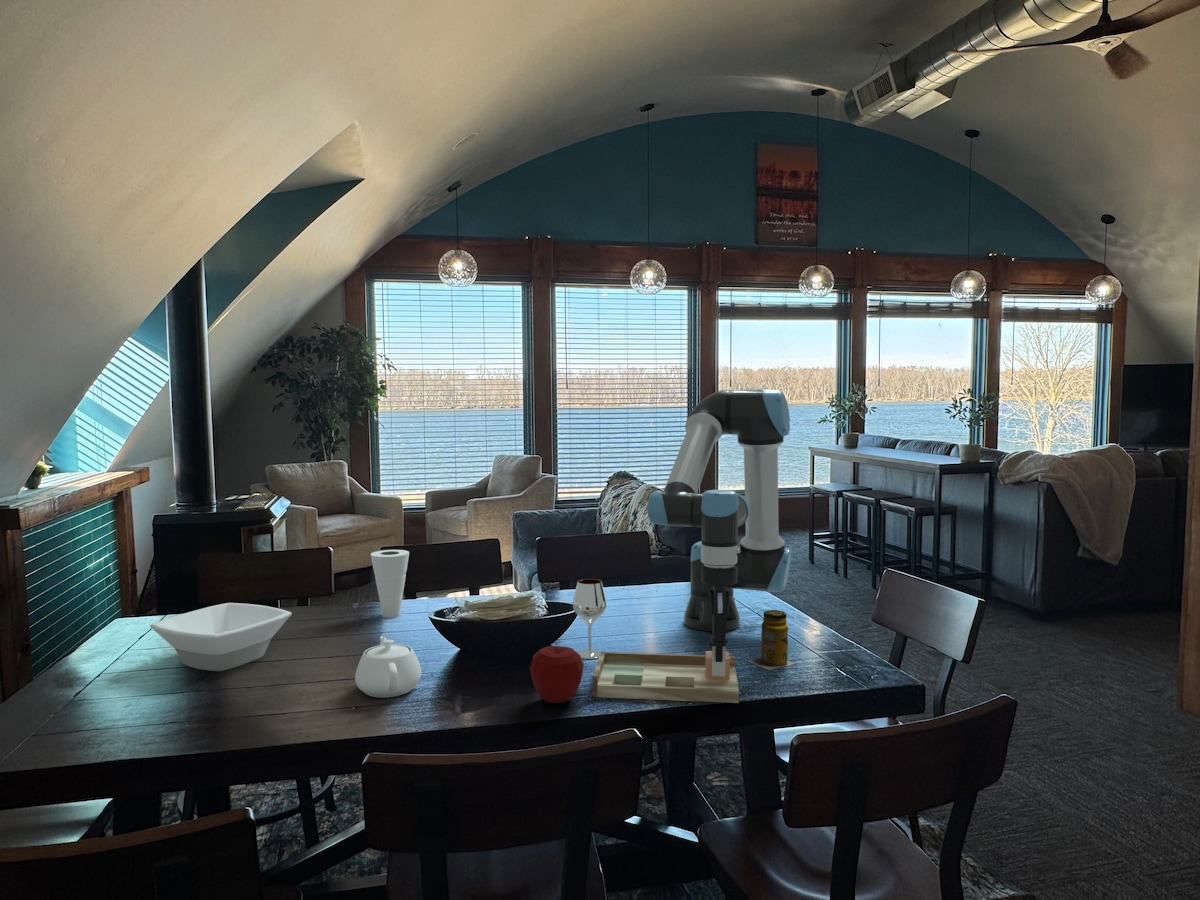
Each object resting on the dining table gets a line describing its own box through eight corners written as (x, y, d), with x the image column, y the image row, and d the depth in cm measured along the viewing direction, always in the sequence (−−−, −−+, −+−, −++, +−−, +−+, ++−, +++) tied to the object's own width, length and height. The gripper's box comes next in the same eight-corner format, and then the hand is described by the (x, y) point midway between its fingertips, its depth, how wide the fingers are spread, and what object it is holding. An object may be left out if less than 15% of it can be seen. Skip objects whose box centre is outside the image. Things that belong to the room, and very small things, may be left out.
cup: (404, 620, 223) (403, 556, 222) (367, 620, 223) (365, 556, 222) (414, 610, 234) (413, 549, 233) (378, 610, 234) (376, 549, 233)
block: (705, 670, 174) (705, 650, 174) (728, 671, 174) (728, 651, 173) (705, 678, 169) (706, 658, 169) (729, 679, 169) (729, 659, 168)
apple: (540, 714, 157) (539, 656, 156) (523, 696, 166) (522, 641, 166) (591, 706, 161) (591, 649, 160) (572, 688, 171) (572, 634, 170)
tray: (601, 671, 182) (601, 651, 181) (734, 676, 178) (734, 656, 178) (592, 697, 166) (592, 675, 166) (738, 703, 162) (739, 681, 162)
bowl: (302, 651, 196) (301, 610, 195) (214, 684, 173) (213, 638, 173) (232, 639, 206) (230, 600, 206) (140, 669, 184) (138, 625, 183)
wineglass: (611, 651, 196) (611, 579, 194) (600, 662, 188) (600, 586, 187) (579, 648, 198) (579, 576, 197) (567, 658, 191) (567, 584, 189)
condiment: (795, 664, 187) (796, 613, 186) (769, 670, 182) (770, 619, 181) (772, 655, 193) (773, 606, 192) (746, 662, 188) (747, 612, 187)
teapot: (428, 702, 163) (428, 651, 162) (359, 712, 158) (358, 659, 157) (413, 668, 183) (412, 622, 183) (351, 676, 179) (350, 629, 178)
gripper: (739, 571, 160) (738, 686, 161) (735, 558, 173) (734, 665, 174) (701, 570, 161) (701, 685, 162) (700, 557, 174) (700, 664, 175)
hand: (718, 674), depth 168 cm, fingers closed
